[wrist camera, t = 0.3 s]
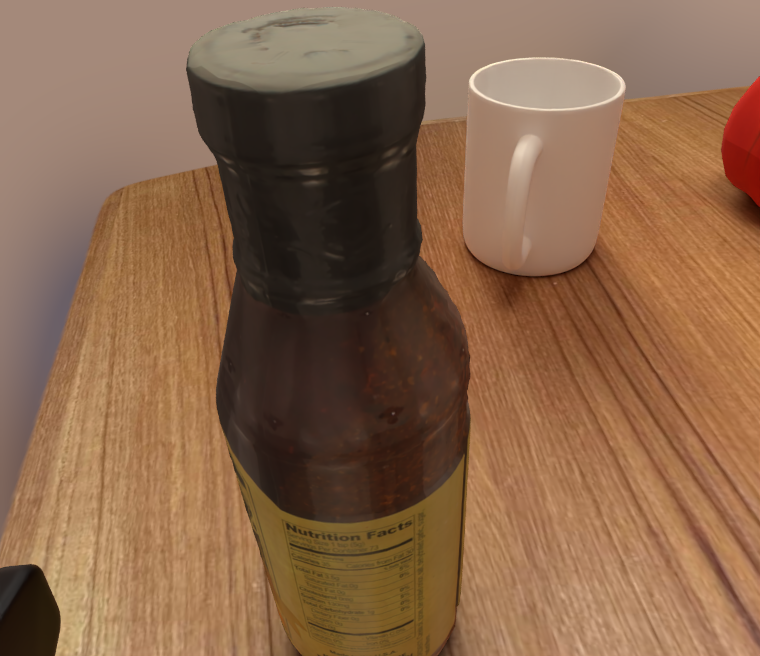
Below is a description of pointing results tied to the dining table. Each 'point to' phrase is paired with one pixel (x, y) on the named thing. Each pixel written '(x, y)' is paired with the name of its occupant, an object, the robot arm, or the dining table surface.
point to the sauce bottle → (337, 329)
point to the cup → (538, 162)
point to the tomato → (744, 143)
